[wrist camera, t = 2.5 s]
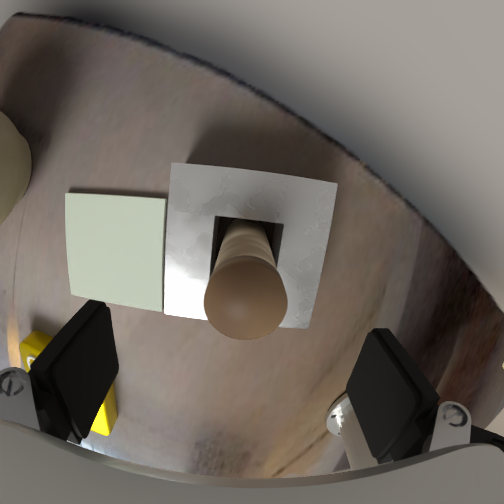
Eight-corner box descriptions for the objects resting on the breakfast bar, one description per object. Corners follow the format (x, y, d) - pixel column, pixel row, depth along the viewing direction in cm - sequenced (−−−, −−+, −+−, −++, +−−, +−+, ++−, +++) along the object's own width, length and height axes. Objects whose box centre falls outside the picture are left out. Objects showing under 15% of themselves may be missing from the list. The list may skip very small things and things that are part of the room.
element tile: (47, 390, 35) (36, 406, 30) (31, 324, 30) (13, 340, 26) (119, 421, 36) (111, 441, 31) (112, 358, 32) (99, 381, 27)
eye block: (321, 180, 26) (337, 183, 21) (298, 304, 29) (308, 328, 25) (185, 163, 25) (171, 162, 20) (176, 290, 29) (164, 313, 24)
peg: (269, 219, 27) (294, 270, 13) (263, 260, 28) (280, 342, 14) (226, 213, 26) (206, 260, 13) (221, 255, 28) (201, 335, 14)
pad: (166, 198, 26) (165, 199, 25) (163, 309, 29) (161, 311, 29) (68, 192, 25) (65, 193, 25) (73, 292, 28) (71, 294, 28)
